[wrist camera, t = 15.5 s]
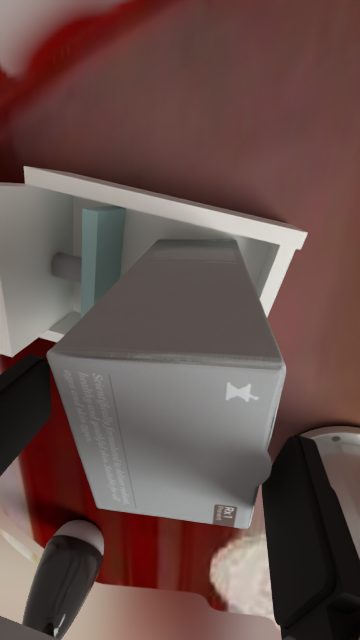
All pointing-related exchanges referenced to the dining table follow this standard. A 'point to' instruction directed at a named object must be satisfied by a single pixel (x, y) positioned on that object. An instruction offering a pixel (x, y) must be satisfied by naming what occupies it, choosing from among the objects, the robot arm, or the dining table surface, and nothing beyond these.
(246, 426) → the skincare box
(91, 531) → the dark grey egg shape
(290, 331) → the dining table surface
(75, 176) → the open box with divider
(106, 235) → the pusher
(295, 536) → the robot arm
